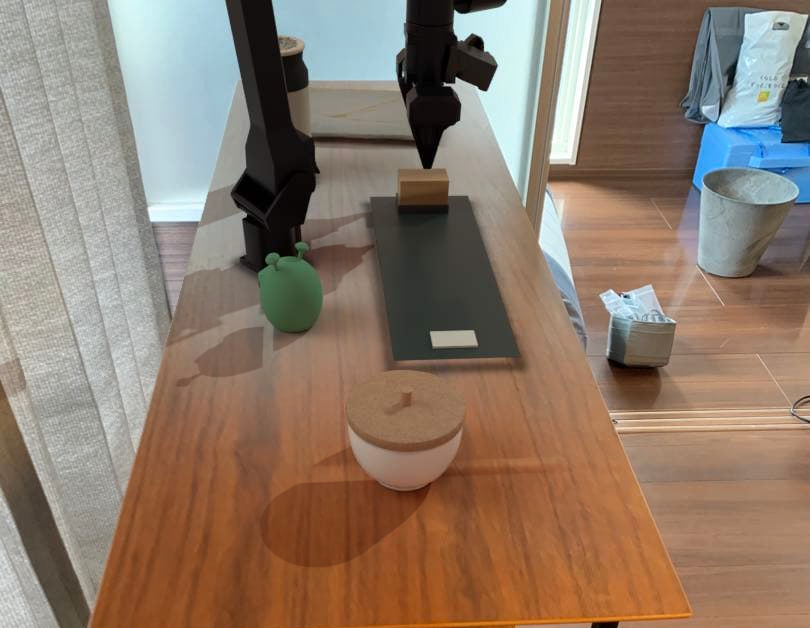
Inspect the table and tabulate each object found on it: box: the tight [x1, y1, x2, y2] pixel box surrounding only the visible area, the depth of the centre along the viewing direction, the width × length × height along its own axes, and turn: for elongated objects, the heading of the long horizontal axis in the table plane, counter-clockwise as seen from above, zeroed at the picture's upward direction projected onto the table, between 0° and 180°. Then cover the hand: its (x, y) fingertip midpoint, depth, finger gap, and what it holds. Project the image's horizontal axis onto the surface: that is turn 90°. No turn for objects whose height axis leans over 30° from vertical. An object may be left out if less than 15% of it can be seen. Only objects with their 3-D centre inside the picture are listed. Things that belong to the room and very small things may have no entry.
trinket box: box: [345, 369, 467, 492], centre depth 76 cm, size 11×11×9 cm
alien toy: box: [257, 241, 324, 333], centre depth 91 cm, size 7×8×10 cm
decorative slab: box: [309, 86, 414, 141], centre depth 138 cm, size 27×21×2 cm
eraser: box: [395, 167, 450, 214], centre depth 113 cm, size 4×7×4 cm, turn 95°
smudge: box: [430, 330, 478, 349], centre depth 92 cm, size 3×5×1 cm, turn 96°
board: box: [369, 195, 522, 362], centre depth 104 cm, size 40×14×1 cm, turn 5°
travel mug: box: [278, 34, 313, 138], centre depth 116 cm, size 8×8×18 cm
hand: (423, 154), depth 109 cm, fingers open, 9 cm apart
